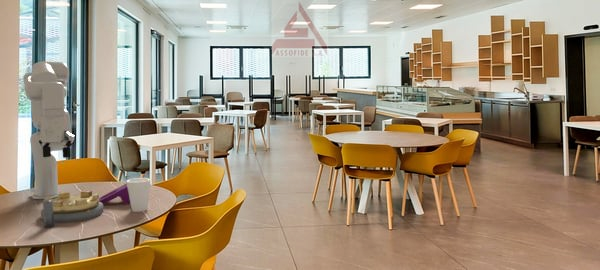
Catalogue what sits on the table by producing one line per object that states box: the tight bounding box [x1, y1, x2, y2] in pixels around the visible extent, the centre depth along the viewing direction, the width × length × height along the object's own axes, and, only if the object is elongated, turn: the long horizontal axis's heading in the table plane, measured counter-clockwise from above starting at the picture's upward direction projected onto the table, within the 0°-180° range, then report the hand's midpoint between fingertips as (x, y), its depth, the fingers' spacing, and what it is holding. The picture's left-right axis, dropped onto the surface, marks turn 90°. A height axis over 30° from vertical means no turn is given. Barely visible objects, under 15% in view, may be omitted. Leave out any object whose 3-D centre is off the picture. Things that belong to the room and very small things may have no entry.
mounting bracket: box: [99, 183, 131, 205], centre depth 204 cm, size 9×8×18 cm
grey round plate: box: [40, 202, 104, 224], centre depth 185 cm, size 23×23×3 cm
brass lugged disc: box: [43, 190, 100, 214], centre depth 184 cm, size 20×20×4 cm
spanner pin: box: [42, 200, 55, 229], centre depth 168 cm, size 3×3×10 cm
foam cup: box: [126, 177, 151, 213], centre depth 191 cm, size 10×9×13 cm
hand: (56, 157), depth 175 cm, fingers open, 9 cm apart
